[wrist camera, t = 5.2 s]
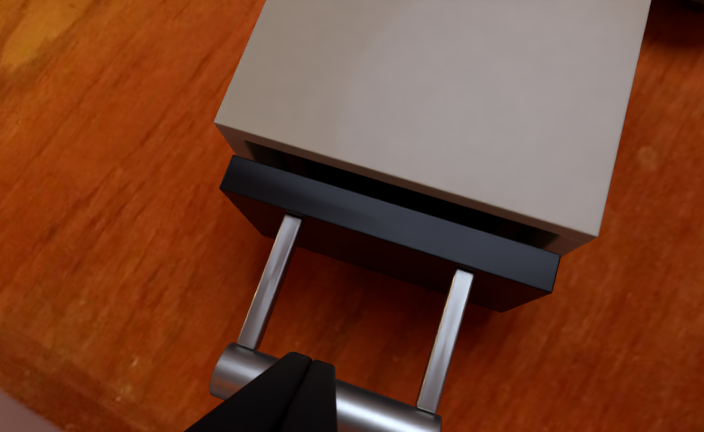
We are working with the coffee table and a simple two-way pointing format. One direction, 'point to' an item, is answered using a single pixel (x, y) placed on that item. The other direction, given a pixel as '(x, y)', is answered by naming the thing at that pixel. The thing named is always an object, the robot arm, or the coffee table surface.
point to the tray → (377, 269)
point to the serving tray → (695, 5)
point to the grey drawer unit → (448, 100)
